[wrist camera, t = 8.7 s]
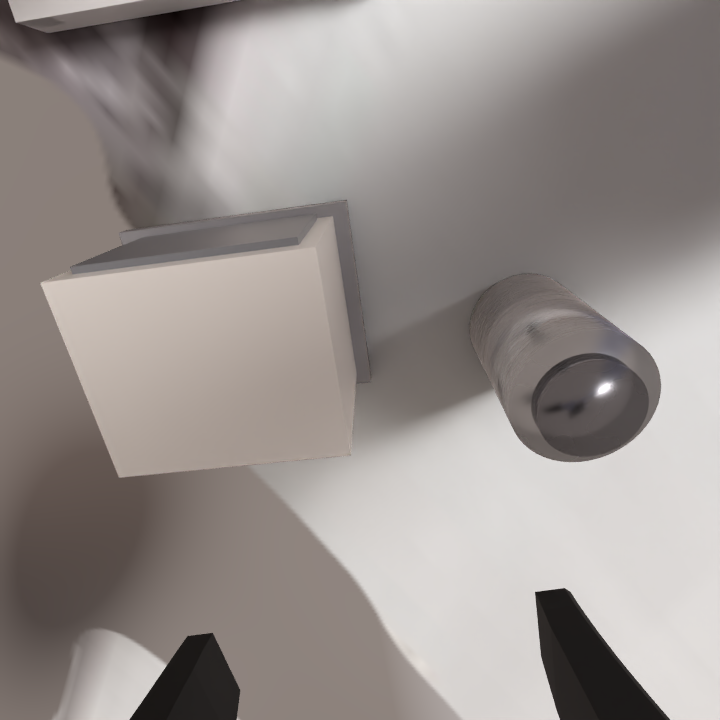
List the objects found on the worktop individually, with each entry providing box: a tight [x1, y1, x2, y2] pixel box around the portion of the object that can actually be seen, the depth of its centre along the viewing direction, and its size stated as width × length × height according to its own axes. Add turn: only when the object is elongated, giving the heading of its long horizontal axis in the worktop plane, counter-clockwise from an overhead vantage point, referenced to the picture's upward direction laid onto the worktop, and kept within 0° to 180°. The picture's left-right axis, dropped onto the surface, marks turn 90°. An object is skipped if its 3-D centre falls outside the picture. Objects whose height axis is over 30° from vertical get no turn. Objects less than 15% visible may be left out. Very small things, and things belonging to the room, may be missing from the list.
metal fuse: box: [469, 274, 661, 462], centre depth 16 cm, size 4×4×7 cm
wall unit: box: [41, 200, 371, 478], centre depth 16 cm, size 8×7×6 cm
